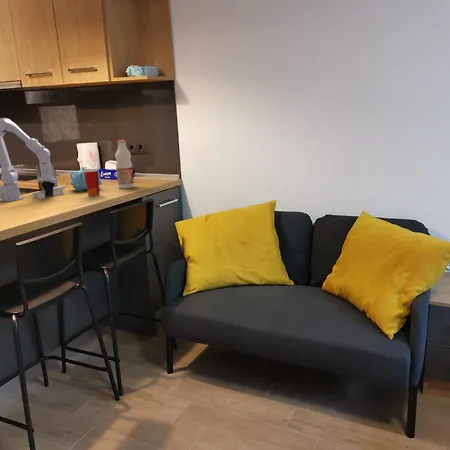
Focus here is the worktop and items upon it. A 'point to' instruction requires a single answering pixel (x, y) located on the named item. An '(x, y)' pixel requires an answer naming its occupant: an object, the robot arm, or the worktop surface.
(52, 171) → the coffee box
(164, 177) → the worktop surface
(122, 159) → the fruit juice
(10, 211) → the worktop surface
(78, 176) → the decorative pot
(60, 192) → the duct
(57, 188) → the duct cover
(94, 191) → the coffee cup
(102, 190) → the worktop surface
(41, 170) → the robot arm
